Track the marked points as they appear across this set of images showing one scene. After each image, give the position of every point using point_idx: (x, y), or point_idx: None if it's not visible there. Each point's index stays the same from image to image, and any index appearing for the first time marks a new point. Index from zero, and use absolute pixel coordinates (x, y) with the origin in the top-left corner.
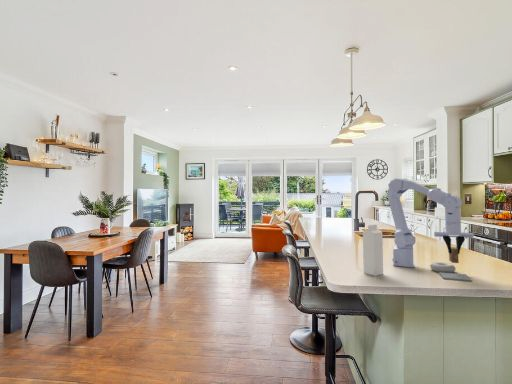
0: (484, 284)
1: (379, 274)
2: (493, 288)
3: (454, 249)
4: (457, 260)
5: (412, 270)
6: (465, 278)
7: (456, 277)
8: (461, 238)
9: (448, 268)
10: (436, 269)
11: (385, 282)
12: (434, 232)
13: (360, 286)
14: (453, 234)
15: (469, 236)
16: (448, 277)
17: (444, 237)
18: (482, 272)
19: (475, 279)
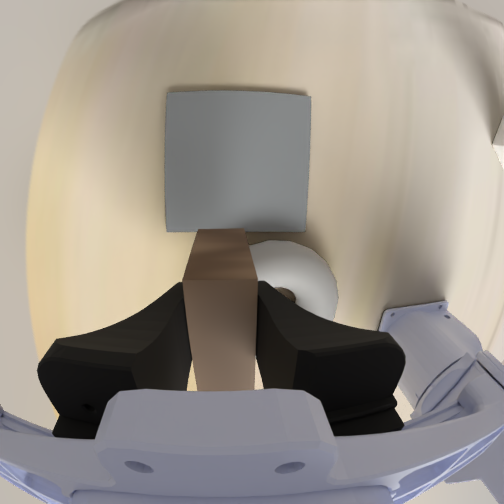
0: (126, 68)
1: (498, 131)
2: (116, 23)
3: (223, 276)
4: (203, 235)
5: (408, 248)
6: (190, 115)
7: (235, 120)
8: (76, 362)
9: (256, 250)
10: (316, 253)
11: (474, 41)
12: (501, 427)
13: (494, 18)
14: (292, 411)
15: (4, 424)
16: (280, 106)
17: (387, 404)
18: (96, 327)
19: (137, 154)
